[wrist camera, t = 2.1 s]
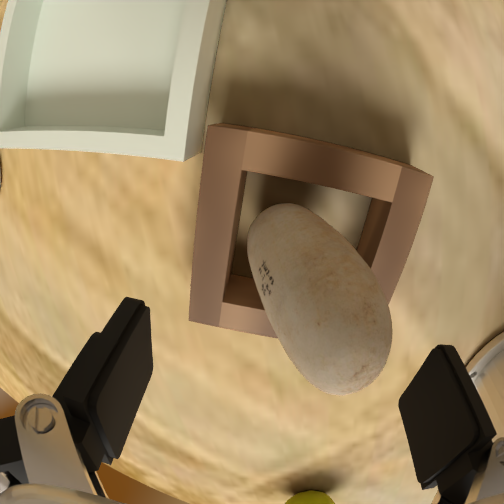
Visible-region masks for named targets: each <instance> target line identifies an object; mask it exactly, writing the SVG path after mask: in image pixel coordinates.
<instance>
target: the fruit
mask: <svg viewBox="0 0 504 504" xmlns="http://www.w3.org/2000/svg"><path fill="white" fill-rule="evenodd" d="M285 504H335V503H334V502H333V500H332V499H331V498H330V497H329V496H328V495H327V494H325V493H323V492H320V491H313V490H310V491H306V492H300V493H298V494H296V495H294V496H293V497H291V498H290V499H289V500H288V501H287V502H286V503H285Z"/></svg>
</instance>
